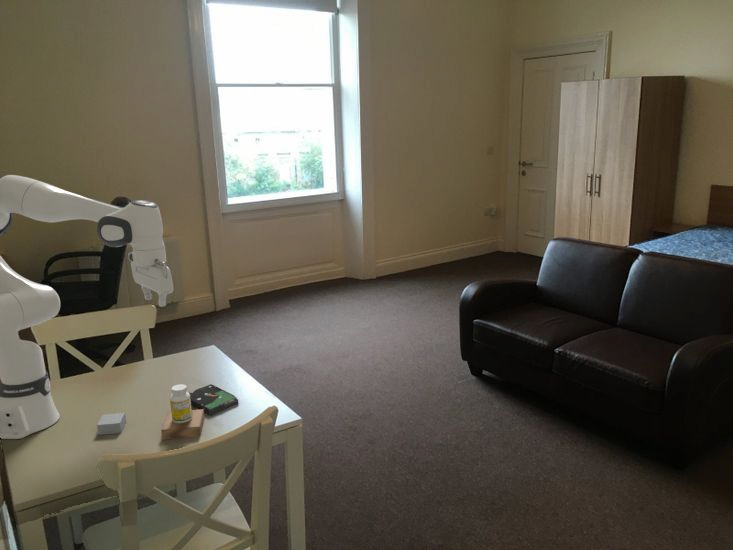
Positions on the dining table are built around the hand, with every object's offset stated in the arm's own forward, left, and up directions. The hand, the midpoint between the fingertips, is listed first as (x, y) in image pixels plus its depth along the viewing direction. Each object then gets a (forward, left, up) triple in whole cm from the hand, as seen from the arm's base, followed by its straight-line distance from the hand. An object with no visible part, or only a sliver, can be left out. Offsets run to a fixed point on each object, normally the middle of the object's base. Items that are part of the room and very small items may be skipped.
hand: (155, 302), depth 178 cm
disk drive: (+14, -5, -32) cm, 35 cm away
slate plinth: (-12, -16, -31) cm, 37 cm away
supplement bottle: (+8, -20, -28) cm, 35 cm away
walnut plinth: (+8, -20, -31) cm, 38 cm away
